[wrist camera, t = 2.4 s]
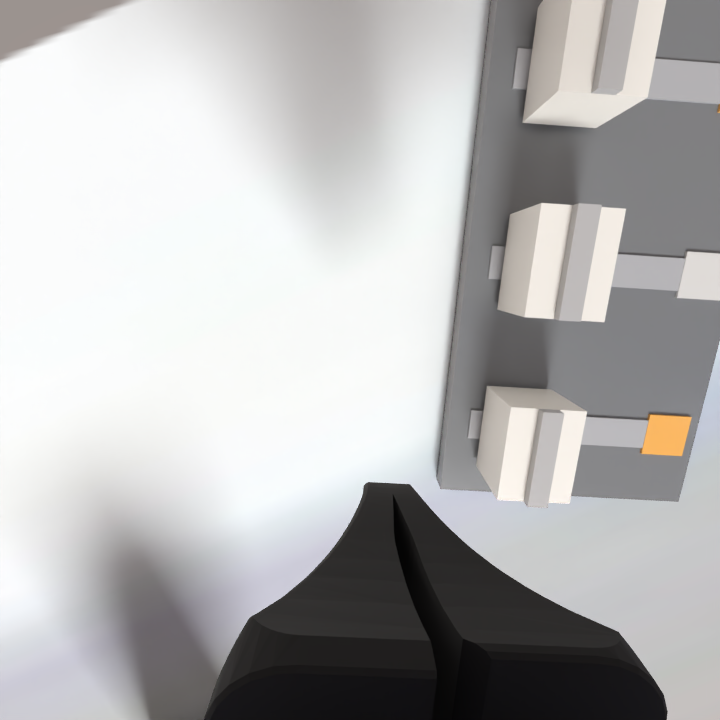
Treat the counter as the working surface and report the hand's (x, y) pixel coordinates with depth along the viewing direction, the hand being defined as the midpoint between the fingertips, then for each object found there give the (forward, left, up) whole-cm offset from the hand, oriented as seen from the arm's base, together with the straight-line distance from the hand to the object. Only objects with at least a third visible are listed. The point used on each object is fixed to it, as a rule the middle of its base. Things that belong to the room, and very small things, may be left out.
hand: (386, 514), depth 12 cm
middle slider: (-7, -8, -8) cm, 13 cm away
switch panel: (-10, -8, -9) cm, 15 cm away
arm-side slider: (-7, 0, -8) cm, 10 cm away
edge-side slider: (-7, -15, -8) cm, 18 cm away
